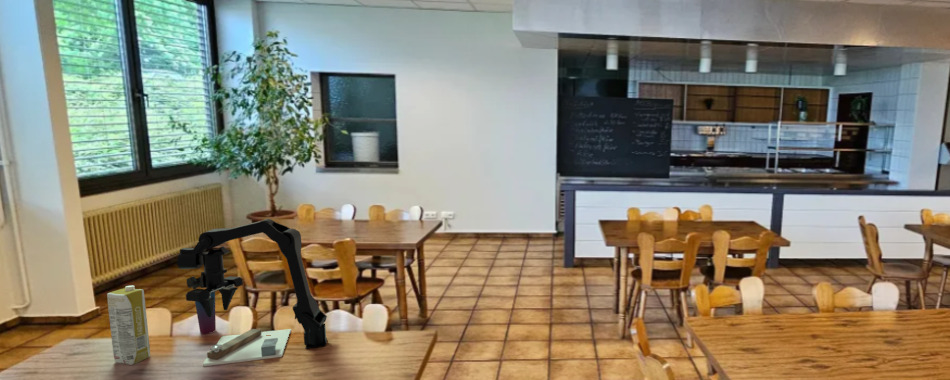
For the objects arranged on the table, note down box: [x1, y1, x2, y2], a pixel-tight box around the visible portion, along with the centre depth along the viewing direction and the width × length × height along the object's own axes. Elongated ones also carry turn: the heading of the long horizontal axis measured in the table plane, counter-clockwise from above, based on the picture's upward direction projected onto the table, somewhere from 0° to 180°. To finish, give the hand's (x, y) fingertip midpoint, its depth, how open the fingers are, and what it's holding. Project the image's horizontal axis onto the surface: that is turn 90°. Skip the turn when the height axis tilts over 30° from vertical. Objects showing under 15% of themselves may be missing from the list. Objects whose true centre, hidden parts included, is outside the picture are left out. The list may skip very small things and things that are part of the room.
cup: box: [194, 289, 217, 335], centre depth 180 cm, size 7×7×15 cm
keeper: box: [261, 338, 278, 357], centre depth 160 cm, size 4×6×3 cm, turn 13°
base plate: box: [202, 328, 292, 367], centre depth 166 cm, size 23×22×4 cm
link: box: [206, 328, 262, 359], centre depth 165 cm, size 20×4×2 cm, turn 163°
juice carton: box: [106, 285, 151, 366], centre depth 158 cm, size 9×8×24 cm
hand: (217, 313), depth 165 cm, fingers open, 6 cm apart
